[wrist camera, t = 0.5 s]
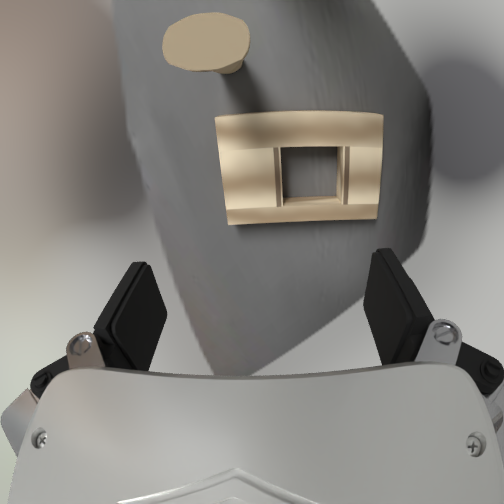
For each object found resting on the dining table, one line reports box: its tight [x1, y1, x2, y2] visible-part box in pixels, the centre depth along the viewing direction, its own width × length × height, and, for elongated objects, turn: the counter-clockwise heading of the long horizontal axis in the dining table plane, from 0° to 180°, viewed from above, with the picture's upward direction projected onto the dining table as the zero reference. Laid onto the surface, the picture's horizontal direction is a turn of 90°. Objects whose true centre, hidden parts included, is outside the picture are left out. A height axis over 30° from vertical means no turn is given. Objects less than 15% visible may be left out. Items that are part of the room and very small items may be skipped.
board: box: [215, 110, 383, 225], centre depth 33 cm, size 14×20×3 cm
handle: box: [162, 13, 250, 74], centre depth 22 cm, size 5×6×15 cm
